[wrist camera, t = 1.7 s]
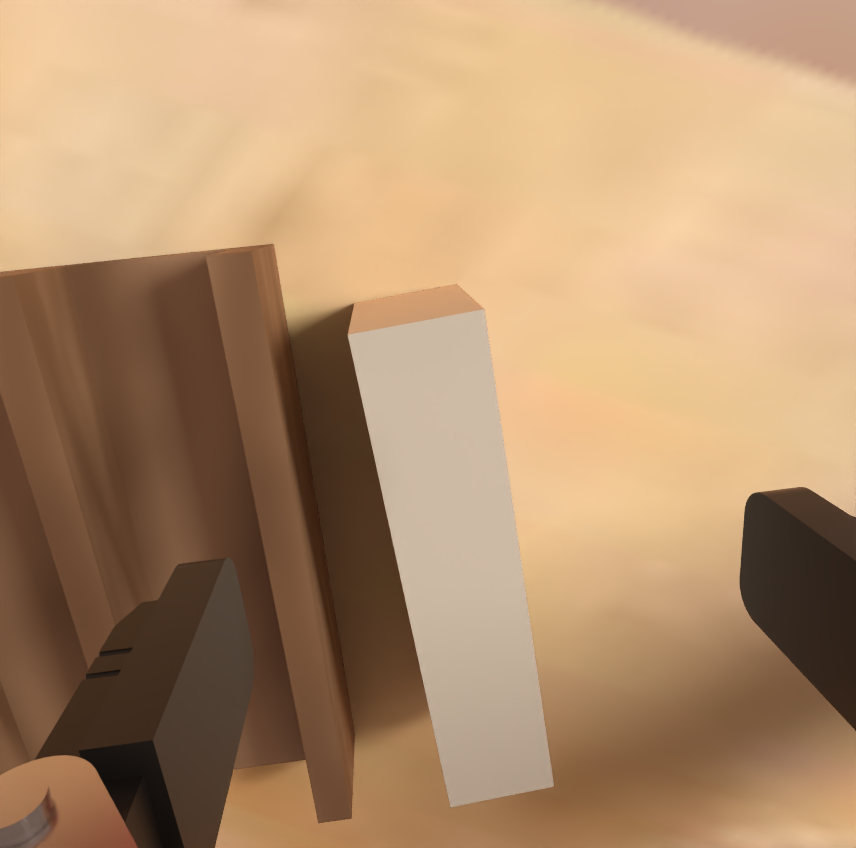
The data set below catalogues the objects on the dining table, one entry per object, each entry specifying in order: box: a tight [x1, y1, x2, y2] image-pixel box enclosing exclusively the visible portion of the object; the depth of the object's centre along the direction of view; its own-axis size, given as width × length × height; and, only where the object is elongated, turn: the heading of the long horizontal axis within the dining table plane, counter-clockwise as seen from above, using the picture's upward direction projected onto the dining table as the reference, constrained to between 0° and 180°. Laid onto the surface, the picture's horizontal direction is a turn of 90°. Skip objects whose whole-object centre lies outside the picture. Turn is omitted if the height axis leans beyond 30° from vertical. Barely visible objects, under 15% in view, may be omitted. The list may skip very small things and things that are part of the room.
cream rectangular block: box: [348, 284, 554, 808], centre depth 22 cm, size 4×16×6 cm, turn 10°
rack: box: [0, 244, 355, 823], centre depth 22 cm, size 14×20×4 cm
